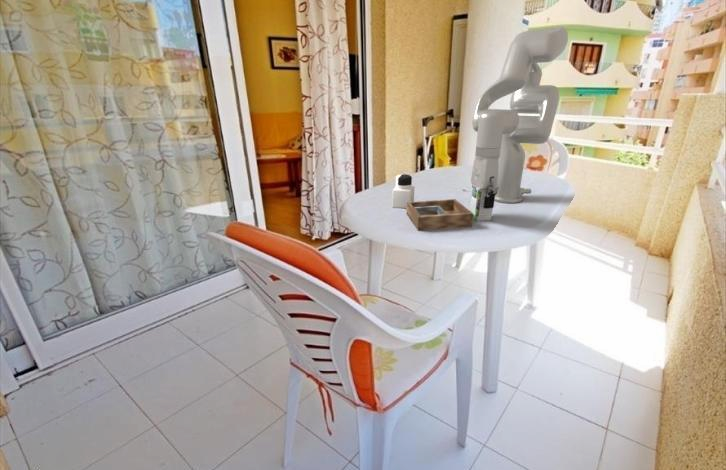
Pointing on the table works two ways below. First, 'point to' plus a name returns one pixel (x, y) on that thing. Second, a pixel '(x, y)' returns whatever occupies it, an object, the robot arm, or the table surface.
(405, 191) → the medicine bottle
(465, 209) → the walled box
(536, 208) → the table surface
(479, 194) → the syrup box
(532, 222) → the table surface
